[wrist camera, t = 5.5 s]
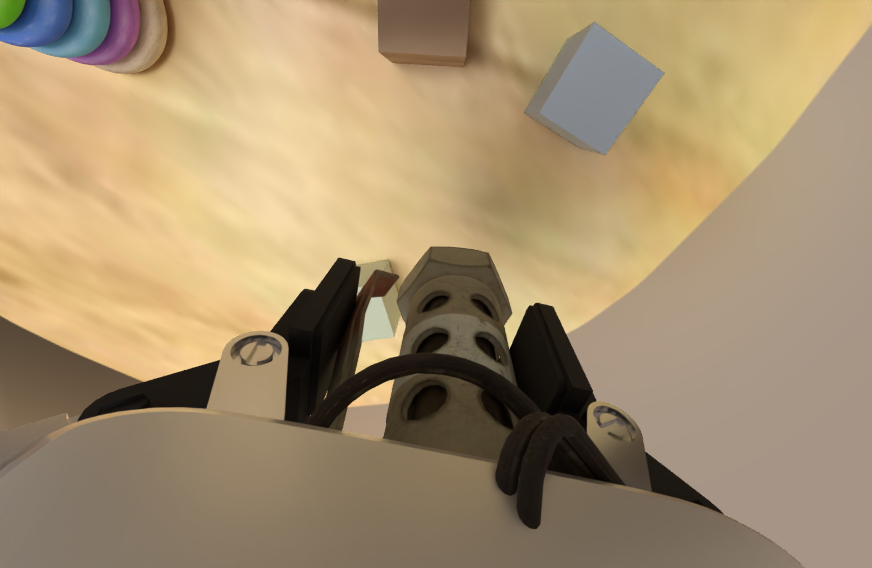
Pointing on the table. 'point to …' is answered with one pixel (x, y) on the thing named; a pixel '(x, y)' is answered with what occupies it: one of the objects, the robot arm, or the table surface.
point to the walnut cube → (424, 31)
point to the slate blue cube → (593, 89)
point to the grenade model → (460, 379)
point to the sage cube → (379, 306)
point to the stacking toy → (89, 30)
